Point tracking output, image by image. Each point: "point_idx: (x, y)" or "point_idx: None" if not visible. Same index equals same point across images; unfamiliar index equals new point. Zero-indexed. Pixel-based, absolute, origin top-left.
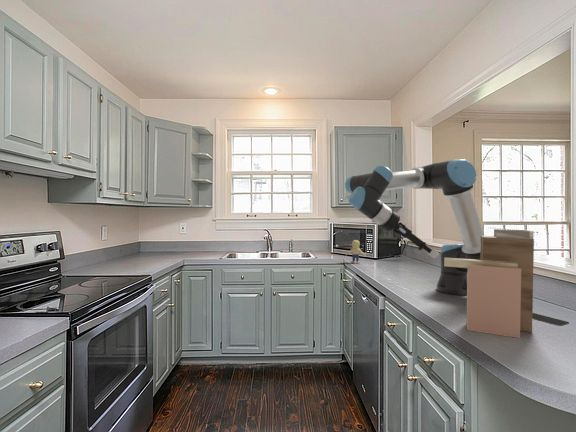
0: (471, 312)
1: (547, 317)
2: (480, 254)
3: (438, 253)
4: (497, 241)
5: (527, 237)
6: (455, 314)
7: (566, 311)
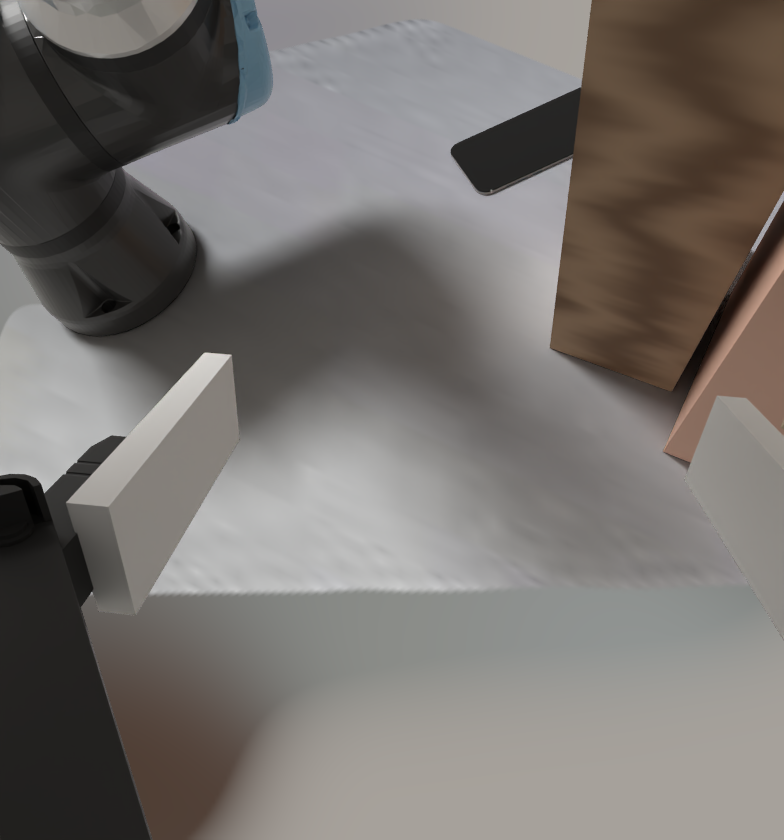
0: None
1: (537, 117)
2: (595, 39)
3: (746, 410)
4: None
5: None
6: (510, 435)
7: (448, 37)
